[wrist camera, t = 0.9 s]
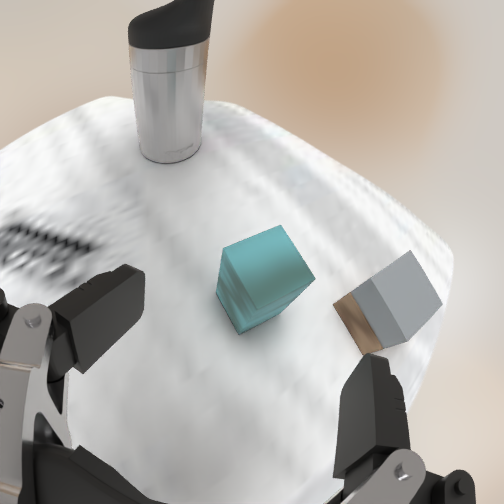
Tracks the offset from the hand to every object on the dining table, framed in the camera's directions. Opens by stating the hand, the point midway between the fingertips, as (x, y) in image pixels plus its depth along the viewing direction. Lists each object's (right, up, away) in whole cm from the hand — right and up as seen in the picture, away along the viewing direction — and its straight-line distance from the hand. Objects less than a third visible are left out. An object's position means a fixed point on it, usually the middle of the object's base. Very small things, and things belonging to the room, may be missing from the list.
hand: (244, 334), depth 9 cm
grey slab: (+15, -3, +18) cm, 24 cm away
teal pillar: (0, -3, +20) cm, 20 cm away
